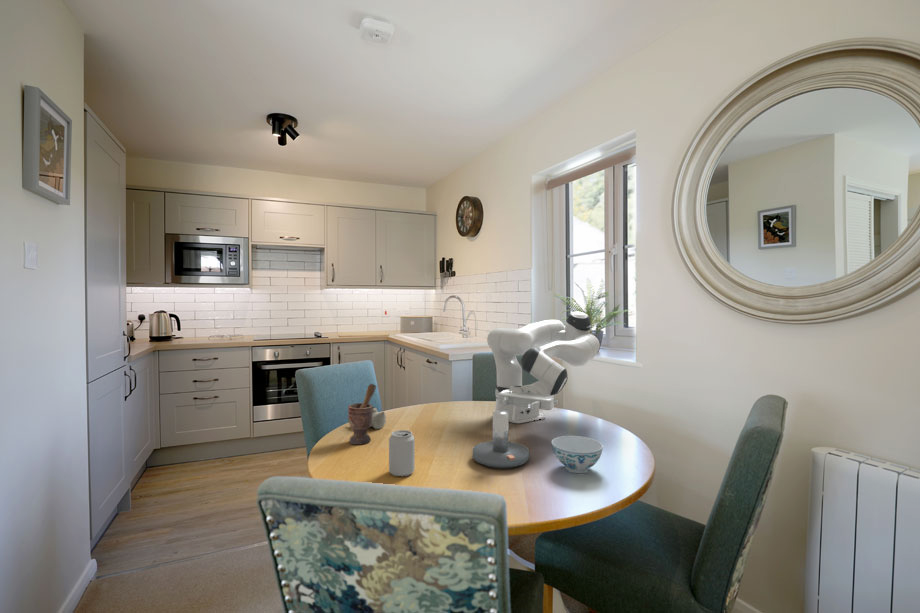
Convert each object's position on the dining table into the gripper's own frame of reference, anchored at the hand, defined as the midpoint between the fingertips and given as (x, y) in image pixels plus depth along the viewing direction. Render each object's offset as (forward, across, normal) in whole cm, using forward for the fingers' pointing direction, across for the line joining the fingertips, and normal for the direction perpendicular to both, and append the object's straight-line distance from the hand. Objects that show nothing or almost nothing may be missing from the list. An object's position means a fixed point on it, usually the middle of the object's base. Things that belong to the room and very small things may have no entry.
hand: (517, 404), depth 145 cm
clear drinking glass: (+11, +1, -12) cm, 17 cm away
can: (+36, +21, -15) cm, 45 cm away
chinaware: (+6, -22, -16) cm, 28 cm away
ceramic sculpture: (+6, +62, -16) cm, 64 cm away
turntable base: (+11, +1, -15) cm, 19 cm away
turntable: (+11, +1, -14) cm, 18 cm away
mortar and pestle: (+21, +52, -16) cm, 58 cm away
